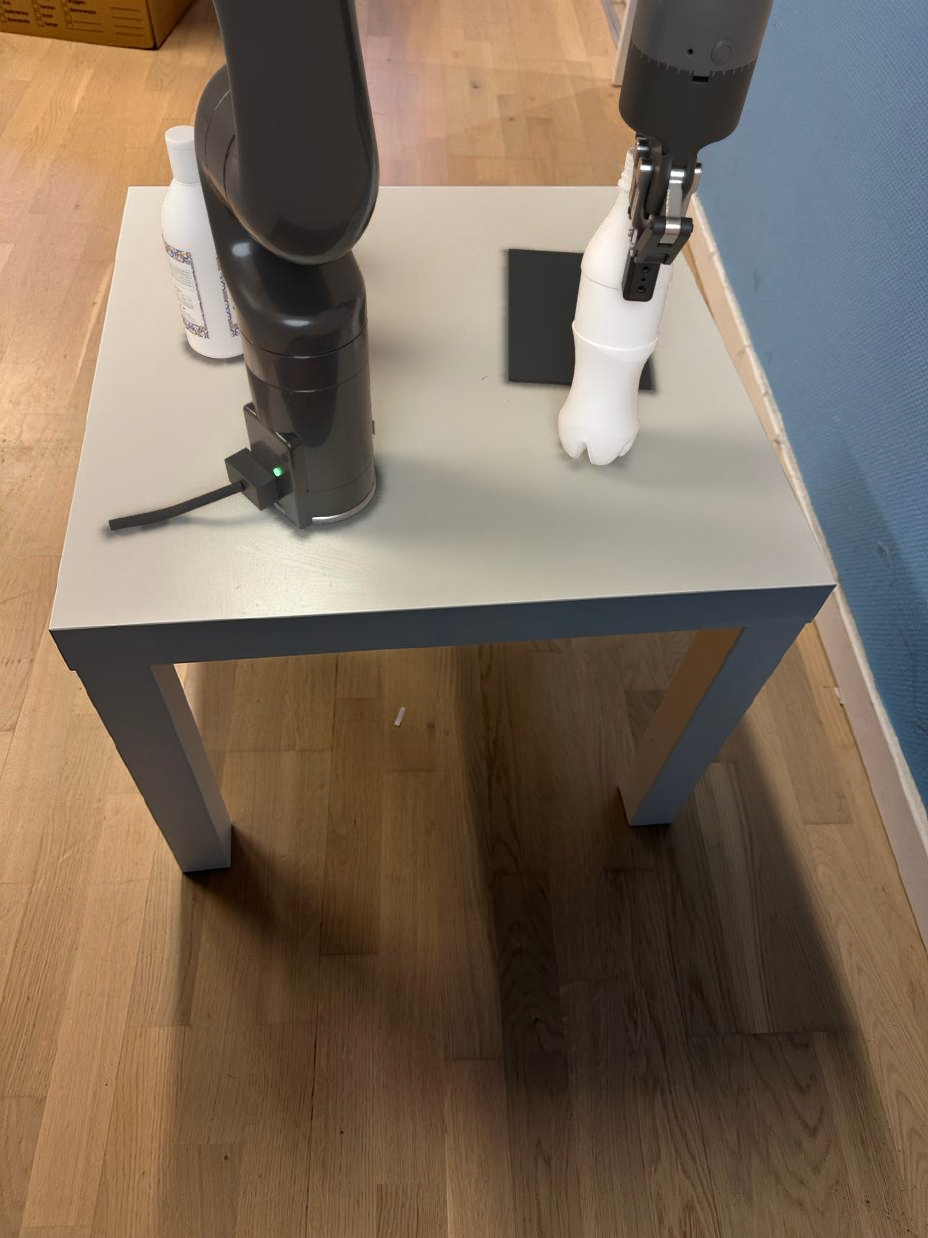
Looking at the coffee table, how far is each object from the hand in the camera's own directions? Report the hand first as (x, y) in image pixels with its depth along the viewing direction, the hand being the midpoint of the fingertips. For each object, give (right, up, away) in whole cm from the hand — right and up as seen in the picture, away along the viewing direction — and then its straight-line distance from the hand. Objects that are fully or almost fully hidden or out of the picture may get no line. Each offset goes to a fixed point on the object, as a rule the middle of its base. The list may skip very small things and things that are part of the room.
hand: (635, 295), depth 66 cm
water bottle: (-1, -9, +16) cm, 18 cm away
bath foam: (-37, +4, +23) cm, 43 cm away
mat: (-1, +8, +28) cm, 29 cm away
